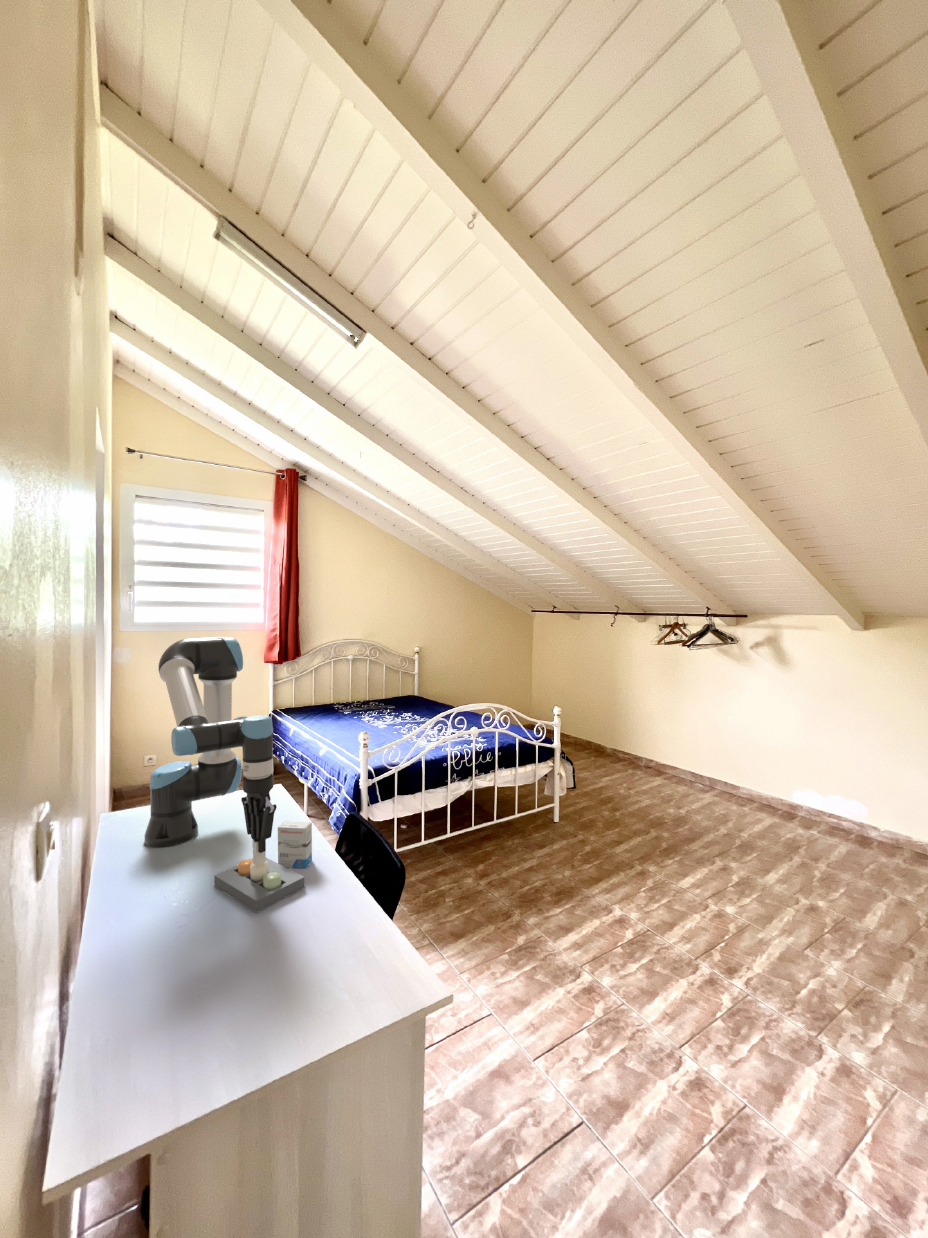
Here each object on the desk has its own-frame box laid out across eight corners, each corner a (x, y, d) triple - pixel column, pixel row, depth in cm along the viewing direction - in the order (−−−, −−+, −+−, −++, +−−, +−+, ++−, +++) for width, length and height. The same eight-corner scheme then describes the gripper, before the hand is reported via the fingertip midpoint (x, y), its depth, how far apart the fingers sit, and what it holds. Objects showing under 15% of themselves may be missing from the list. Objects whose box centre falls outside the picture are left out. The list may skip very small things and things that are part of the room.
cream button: (247, 879, 139) (246, 865, 139) (262, 872, 143) (261, 858, 143) (256, 885, 137) (256, 870, 137) (271, 878, 140) (271, 863, 140)
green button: (259, 892, 136) (259, 877, 136) (274, 885, 139) (274, 870, 139) (269, 898, 133) (269, 883, 133) (284, 890, 137) (284, 875, 136)
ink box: (312, 860, 154) (312, 821, 154) (306, 869, 149) (305, 828, 149) (285, 859, 155) (284, 820, 155) (277, 867, 150) (277, 827, 150)
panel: (214, 886, 140) (214, 875, 140) (261, 865, 151) (261, 855, 151) (256, 913, 128) (256, 901, 128) (304, 888, 139) (304, 877, 139)
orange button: (234, 878, 143) (234, 863, 143) (249, 871, 146) (249, 857, 146) (243, 883, 140) (243, 868, 140) (258, 876, 144) (258, 862, 144)
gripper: (231, 774, 140) (232, 861, 140) (259, 783, 132) (260, 876, 132) (257, 767, 146) (258, 851, 146) (285, 776, 138) (286, 864, 138)
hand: (259, 862), depth 139 cm, fingers closed
